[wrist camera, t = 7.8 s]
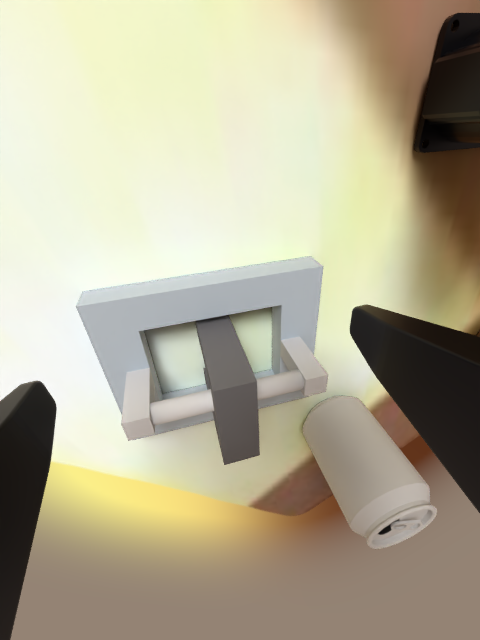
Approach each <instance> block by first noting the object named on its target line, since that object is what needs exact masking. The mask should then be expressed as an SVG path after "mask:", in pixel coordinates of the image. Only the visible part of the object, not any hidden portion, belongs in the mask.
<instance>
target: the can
mask: <svg viewBox="0 0 480 640" xmlns="http://www.w3.org/2000/svg"><path fill="white" fill-rule="evenodd" d="M303 435H304V437H305V439H306V441H307V443H308V445H309V447H310V449H311V451H312V453H313V455H314V457H315V459H316V461H317V463H318V465H319V467H320V469H321V471H322V473H323V475H324V477H325V479H326V481H327V483H328V485H329V487H330V488H331V490H332V492H333V494H334V496H335V498H336V500H337V502H338V504H339V506H340V508H341V510H342V512H343V514H344V516H345V518H346V520H347V522H348V524H349V526H350V528H351V529H352V530H353V531H354V532H356V533H358V534H359V535H362V536H363V537H365V538H367V544H368V545H369V547H371V548H377V549H378V548H384V547H388V546H391V545H395V544H397V543H400V542H402V541H404V540H406V539H408V538H410V537H412V536H413V535H415V534H417V533H418V532H420V531H421V530H422V529H424V528H425V527H426V526H427V525H429V524H430V523H431V522H432V520H433V519H434V518H435V516H436V514H437V510H436V507H434V506H432V505H431V504H430V489H429V486H428V484H427V483H426V482H425V481H424V479H423V478H422V477H421V476H420V474H419V473H418V472H417V471H416V469H415V468H414V467H413V466H412V464H411V463H410V462H409V460H408V459H407V458H406V457H405V456H404V454H403V453H402V452H401V450H400V449H399V448H398V447H397V445H396V444H395V443H394V442H393V440H392V439H391V438H390V436H389V435H388V434H387V433H386V431H385V430H384V429H383V428H382V426H381V425H380V424H379V423H378V421H377V420H376V419H375V418H374V416H373V415H372V414H371V413H370V411H369V410H368V409H367V407H366V406H365V405H364V404H363V402H362V401H360V400H359V399H358V398H355V397H350V396H334V397H331V398H328V399H325V400H324V401H322V402H320V403H318V404H317V405H316V406H315V407H314V408H312V410H311V411H310V412H309V414H308V416H307V418H306V421H305V423H304V426H303Z"/></svg>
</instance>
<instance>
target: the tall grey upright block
mask: <svg viewBox="0 0 480 640" xmlns="http://www.w3.org/2000/svg"><path fill="white" fill-rule="evenodd" d="M196 327H197V333H198V337H199V342H200V346H201V350H202V354H203V358H204V363H205V367H206V368H203V369H204V374H205V380H206V385H207V390H209V389H211V394H212V400H213V406H214V411H212V412H213V417H214V421H215V425H216V430H217V434H218V439H219V443H220V448H221V452H222V457H223V461H224V465H226V464H230V463H233V462H237V461H241V460H244V459H248V458H251V457H255V456H258V455H260V451H259V423H258V394H257V380H256V378H255V375H254V373H253V371H252V369H251V366H250V364H249V362H248V359H247V357H246V355H245V352H244V350H243V348H242V345H241V343H240V341H239V339H238V336H237V334H236V332H235V329H234V327H233V325H232V322H231V320H230V318H229V316H228V315H224V316H219V317H213V318H208V319H202V320H197V321H196Z"/></svg>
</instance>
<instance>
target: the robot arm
mask: <svg viewBox="0 0 480 640" xmlns="http://www.w3.org/2000/svg"><path fill="white" fill-rule="evenodd" d="M452 23H453V29H452V31H451V25H452ZM423 141H424V145H423V147H422V143H423ZM479 147H480V13H457V14H454V15H451V16H449V17H448V18H447V19H446V20H445V21H444V23H443V25H442V28H441V32H440V37H439V41H438V45H437V50H436V54H435V58H434V63H433V67H432V71H431V75H430V80H429V84H428V88H427V93H426V97H425V101H424V105H423V110H422V114H421V118H420V123H419V127H418V131H417V135H416V140H415V144H414V149H415V151H416V152H421V153H425V152H436V151H446V150H457V149H468V148H479ZM350 334H351V336H352V338H353V340H354V342H355V343H356V345H357V347H358V348H359V350H360V352H361V353H362V355H363V357H364V358H365V360H366V361H367V363H368V365H369V366H370V368H371V370H372V371H373V373H374V374H375V376H376V377H377V379H378V380H379V381H380V383H381V384H382V385H383V387H384V388H385V389H386V391H387V392H388V393H389V395H390V396H391V397H392V399H393V400H394V401H395V402H396V404H397V405H398V406H399V408H400V409H401V410H402V412H403V413H404V414H405V416H406V417H407V418H408V420H409V421H410V422H411V424H412V425H413V426H414V428H415V429H416V430H417V431H418V433H419V434H420V435H421V437H422V438H423V439H424V441H425V442H426V443H427V445H428V446H429V447H430V449H431V450H432V451H433V453H434V454H435V455H436V456H437V458H438V459H439V460H440V462H441V463H442V464H443V465H444V467H445V468H446V470H447V471H448V472H449V474H450V475H451V476H452V477H453V479H454V480H455V481H456V483H457V484H458V485H459V487H460V488H461V489H462V491H463V492H464V493H465V495H466V496H467V497H468V499H469V500H470V501H471V503H472V504H473V505H474V507H475V508H476V509H477V510H478V512H479V513H480V337H478V336H475V335H471V334H468V333H464V332H461V331H457V330H454V329H451V328H447V327H444V326H440V325H437V324H433V323H430V322H426V321H423V320H419V319H416V318H412V317H409V316H405V315H402V314H399V313H395V312H392V311H388V310H385V309H381V308H378V307H374V306H371V305H362V306H357V307H355V308H354V309H353V311H352V317H351V324H350ZM55 419H56V403H55V401H54V399H53V398H52V396H51V395H50V393H49V392H48V390H47V389H46V387H45V386H44V384H43V383H42V382H40V381H33V382H28V383H24V384H21V385H20V386H18V387H17V388H16V389H15V390H13V391H12V392H11V393H10V394H9V395H7V396H6V397H5V398H4V399H2V400H1V401H0V640H10V638H11V634H12V630H13V625H14V621H15V616H16V612H17V608H18V603H19V599H20V595H21V590H22V585H23V582H24V577H25V573H26V569H27V564H28V560H29V556H30V551H31V547H32V542H33V538H34V533H35V529H36V525H37V521H38V516H39V512H40V508H41V503H42V499H43V494H44V490H45V486H46V481H47V477H48V473H49V468H50V462H51V455H52V447H53V437H54V428H55Z"/></svg>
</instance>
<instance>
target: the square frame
mask: <svg viewBox="0 0 480 640" xmlns="http://www.w3.org/2000/svg"><path fill="white" fill-rule="evenodd" d="M322 274H323V265H321V264H320V263H319V262H317V261H316V260H315V259H313V258H312V257H311V256H309V257H302V258H296V259H289V260H283V261H276V262H270V263H264V264H257V265H251V266H244V267H238V268H232V269H225V270H219V271H212V272H206V273H199V274H193V275H187V276H180V277H174V278H167V279H161V280H155V281H148V282H142V283H135V284H129V285H122V286H116V287H110V288H103V289H97V290H90V291H84V292H82V294H81V296H80V298H79V301H78V303H77V305H76V308H77V310H78V313H79V315H80V317H81V320H82V322H83V324H84V327H85V329H86V331H87V334H88V336H89V338H90V341H91V343H92V346H93V348H94V350H95V353H96V355H97V357H98V360H99V362H100V364H101V367H102V369H103V371H104V374H105V376H106V379H107V381H108V383H109V386H110V388H111V390H112V393H113V395H114V397H115V400H116V402H117V404H118V407H119V409H120V412H121V414H122V421H121V425H122V427H123V429H124V432H125V434H126V436H127V438H128V441H129V440H136V439H140V438H144V437H148V436H152V435H156V434H160V433H164V432H168V431H172V430H176V429H180V428H184V427H188V426H192V425H196V424H200V423H204V422H208V421H212V420H214V417H213V412H212V411H214V406H213V400H212V394H211V389H209V390H207V385H206V384H204V385H200V386H195V387H191V388H186V389H182V390H177V391H173V392H169V393H164V394H162V391H161V388H160V384H159V381H158V377H157V374H156V371H155V367H154V364H153V360H152V357H151V353H150V350H149V347H148V343H147V340H146V336H145V333H144V330H148V329H154V328H159V327H165V326H170V325H175V324H181V323H186V322H192V321H197V320H202V319H208V318H213V317H219V316H224V315H230V314H235V313H240V312H246V311H251V310H257V309H262V308H267V307H272V369H270V370H266V371H262V372H257V373H254V375H255V378H256V380H257V394H258V409H260V408H264V407H268V406H272V405H276V404H280V403H284V402H288V401H292V400H296V399H300V398H304V397H308V396H310V395H314V394H318V393H322V392H326V387H327V380H328V374H327V372H326V371H325V370H324V368H323V367H322V365H321V364H320V363H319V361H318V360H317V359H316V357H315V356H314V349H315V339H316V330H317V321H318V311H319V302H320V293H321V283H322Z"/></svg>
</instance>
